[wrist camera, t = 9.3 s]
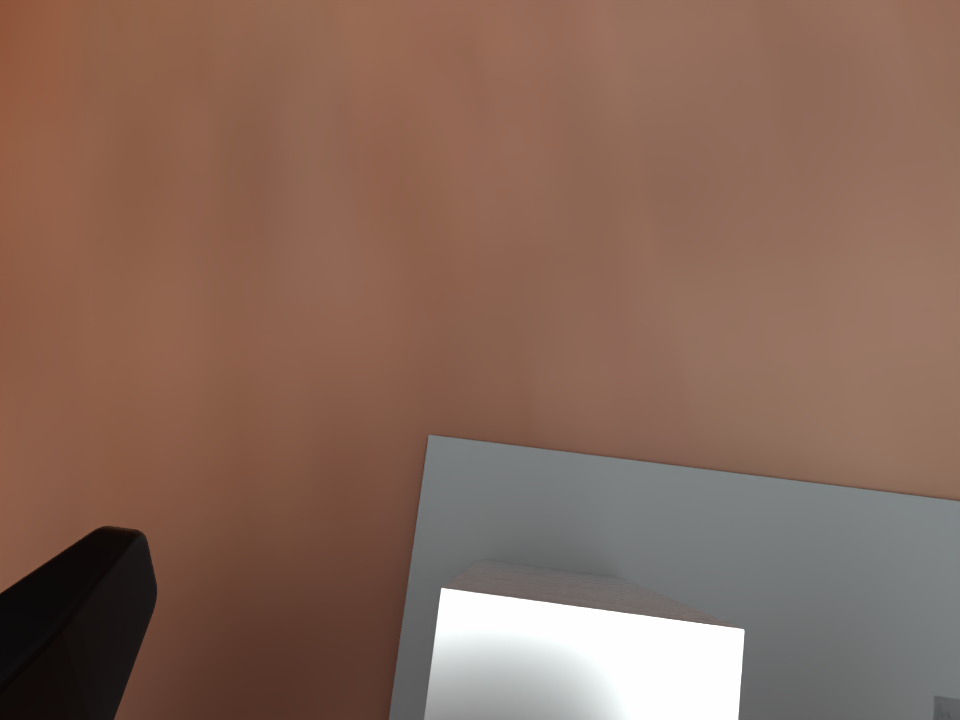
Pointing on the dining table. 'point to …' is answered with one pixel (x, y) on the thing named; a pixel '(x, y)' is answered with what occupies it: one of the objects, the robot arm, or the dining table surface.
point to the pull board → (671, 594)
